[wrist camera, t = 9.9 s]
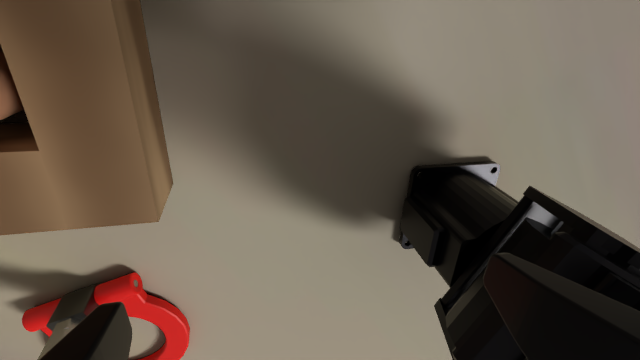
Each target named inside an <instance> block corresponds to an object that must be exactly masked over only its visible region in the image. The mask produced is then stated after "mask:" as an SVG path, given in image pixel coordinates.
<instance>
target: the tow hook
mask: <svg viewBox="0 0 640 360" xmlns="http://www.w3.org/2000/svg"><path fill="white" fill-rule="evenodd" d="M142 288H143V285H142V280H141V278H140V276H139V275H138V274H137V273H131V274H128V275H125V276H122V277H119V278H117V279H114V280H111V281H108V282H105V283H102V284H94V285H92V286H89V287H86V288H83V289H80V290H77V291H74V292H72V293H69V294H66V295H64V296H63V297H62V298H60V299H57V300H54V301H51V302H48V303H45V304H42V305H40V306H37V307H34V308H31V309H28V310H27V311H26V312H25V313H24V315H23V318H22V323H23V326H24V328H25V329H26V330H28V331H30V332H34V331H37V330H40V329H41V330H42V331H43V332H44V333H45V334H46V335H48V336H49V339H48V341H47V343H46V345H45V346H44V348H43V350H42V352H41V354H40V356H39V358H38V360H39V359H40V358H41V357H42V356H44V355H45V354H46V353H47V352H48V351H49V350H50V349H51V348H52V347H53V346H55V345H56V344H57V343H58V342H59V341H60V340H61V339H62V338H63V337H64V336H66V335H67V334H68V333H69V332H70V331H71V330H72V329H73V328H74V327H75V326H77V325H78V324H79V323H80V322H81V321H82V320H83V319H84V318H85V317H86V316H88V315H89V314H90V313H91V312H92V311H93V310H94V309H95V308H96V307H98V306H99V305H101V304H104V303H111V302H122V303H123V304H124V305H125V308H126V311H127V314H128V316H129V317H137V318H141V319H144V320H147V321H150V322H152V323H153V324H155V325H157V326H158V327H159V328H160V329H161V330H162V331H163V333H164V335H165V337H166V342H165V344H164V345H163V346H162V347H161V348H160V349H159V350H158V351H156V352H155V353H153V354H152V355H149V356H147V357H144V358H141V359H137V360H179V359H180V358H181V357H182V356H183V355H184V353H185V351H186V349H187V347H188V343H189V332H190V327H189V325H188V322H187V319H186V317H185V316H184V315H183V314H182V313H181V312H180V310H179V309H178V308H176V307H175V306H173V305H171V304H170V303H168V302H167V301H165V300H162V299H159V298H156V297H154V296H151V295H147V293H146V292H145V291H144V290H143V289H142Z"/></svg>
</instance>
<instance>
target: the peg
mask: <svg viewBox="0 0 640 360" xmlns="http://www.w3.org/2000/svg"><path fill="white" fill-rule="evenodd" d="M22 110H24V107H23V105H22V102H21V99H20V96H19V94H18V91H17V88H16V85H15V83H14V80H13V77H12V74H11V72H10V69H9V66H8V63H7V61H6V58H5V55H4V52H3V50H2V47H1V44H0V120H2V119H4V118H7V117H9V116H11V115H13V114H15V113H17V112H20V111H22Z"/></svg>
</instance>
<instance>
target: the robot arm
mask: <svg viewBox="0 0 640 360" xmlns="http://www.w3.org/2000/svg"><path fill="white" fill-rule="evenodd" d="M492 168H493V169H492ZM491 169H492V170H491ZM490 170H491V171H490ZM419 172H421V174H420V175H419V176H417V175H418V173H419ZM499 172H500V165H499V164H497V163H495V162H493V161H489V162H473V163H457V164H441V165H425V166H416V167H415V168H414V169H413V170H412V172H411V176H410V181H409V187H408V193H407V197H406V198H405V201H404V207H403V212H402V218H401V224H400V230H401V234H400V240H399V243H400V244H401V246H402V247H403V248H404V249H411V248H415V250H416V251H417V252H418V254H419V255H420V256H421V258H422V259H423V260H424V262H425V263H426V264H427V265H428V266H429V267H435V268H436V270H437V271H438V272H439V274H440V275H441V276H442V277H443V279H444V280H445V281H446V283H447V284H448V285H449V287H450V289H449V290H448V291H447V293H446V294H445V295H444V296H443V298H442V299H441V298H440V299H439V300H438V301H437V302H436V304H435V305H434V307H435V310H436V312H437V315H438V318H439V321H440V324H441V327H442V330H443V333H444V335H445V338H446V341H447V344H448V347H449V350H450V353H451V356H452V358H453V360H640V249H639V248H638V247H636V246H634V245H633V244H631V243H630V242H628V241H627V240H625V239H624V238H622V237H620V236H619V235H617V234H615V233H614V232H612V231H610V230H608V229H607V228H605V227H603V226H602V225H600V224H598V223H596V222H595V221H593V220H591V219H590V218H588V217H586V216H584V215H583V214H581V213H579V212H577V211H576V210H574V209H572V208H570V207H568V206H566V205H564V204H563V203H561V202H559V201H557V200H555V199H553V198H551V197H550V196H548V195H546V194H544V193H542V192H540V191H539V190H537V189H535V188H533V187H531V186H529V187H528V188H527V190H526V191H525V192H524V193H523V194H524V196H523V198H522V199H521V200H520V201H519V202H518V201H516V200H515V199H513V198H512V197H511V196H509V195H508V194H506V193H505V192H503V191H502V190H500V189H499V188H497V187H496V186H495V185H496V182H497V178H498V175H499ZM406 241H408V242H407V243H405V242H406ZM131 341H132V327H131V324H130V321H129V318H128V314H127V311H126V308H125V305H124V304H123V303H122V302H111V303H104V304H101V305H99V306H98V307H96V308H95V309H94V310H93V311H92V312H91V313H90V314H89V315H88V316H86V317H85V318H84V319H83V320H82V321H81V322H80V323H79V324H78V325H77V326H75V327H74V328H73V329H72V330H71V331H70V332H69V333H68V334H67V335H66V336H64V337H63V338H62V339H61V340H60V341H59V342H58V343H57V344H56V345H55V346H53V347H52V348H51V349H50V350H49V351H48V352H47V353H46V354H45V355H44V356H42V357H41V358H40V359H39V360H128V357H129V352H130V346H131Z"/></svg>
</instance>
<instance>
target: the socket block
mask: <svg viewBox="0 0 640 360" xmlns="http://www.w3.org/2000/svg"><path fill="white" fill-rule="evenodd" d="M0 44H1V47H2V50H3V52H4V55H5V58H6V61H7V63H8V66H9V69H10V72H11V74H12V77H13V80H14V83H15V85H16V88H17V91H18V94H19V96H20V99H21V102H22V105H23V107H24V110H25V113H26V116H27V118H28V121H29V123H14V124H0V235H9V234H21V233H32V232H44V231H56V230H68V229H80V228H91V227H103V226H115V225H127V224H139V223H151V222H159V219H160V217H161V214H162V211H163V209H164V206H165V203H166V201H167V198H168V196H169V193H170V190H171V188H172V185H173V180H172V175H171V169H170V164H169V158H168V153H167V147H166V142H165V136H164V131H163V125H162V120H161V114H160V109H159V103H158V98H157V92H156V87H155V81H154V76H153V70H152V65H151V59H150V54H149V48H148V43H147V37H146V32H145V26H144V21H143V15H142V10H141V4H140V0H0Z"/></svg>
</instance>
